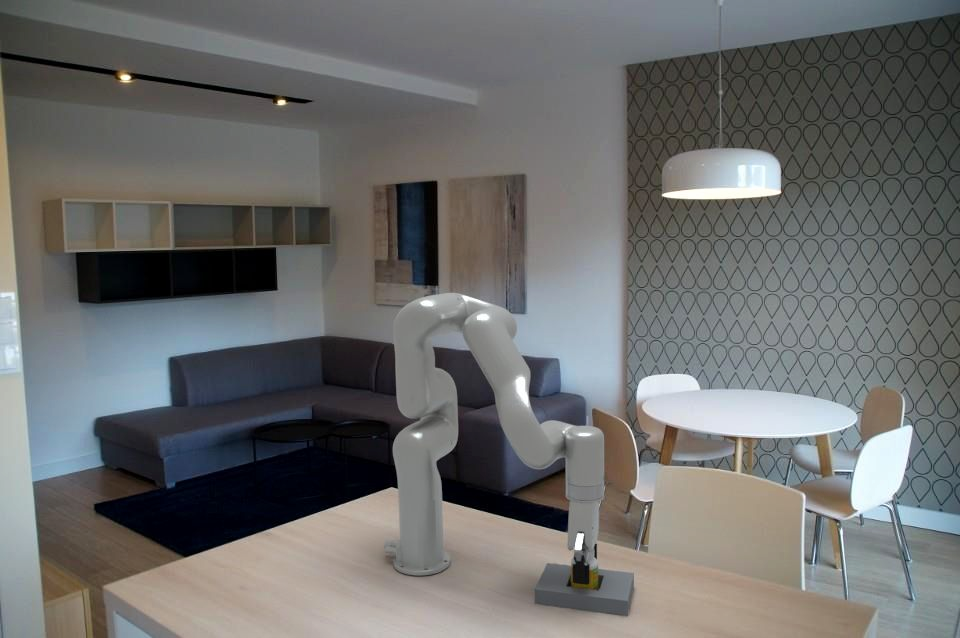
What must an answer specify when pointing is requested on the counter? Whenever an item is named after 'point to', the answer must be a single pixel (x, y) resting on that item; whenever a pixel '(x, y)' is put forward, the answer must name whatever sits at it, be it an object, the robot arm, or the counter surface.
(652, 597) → the counter surface
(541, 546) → the counter surface
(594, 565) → the supplement bottle
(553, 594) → the socket block
